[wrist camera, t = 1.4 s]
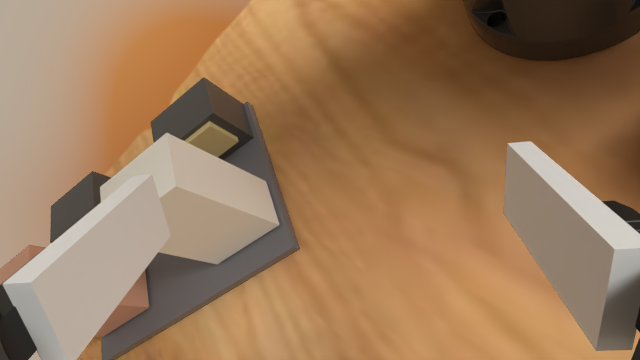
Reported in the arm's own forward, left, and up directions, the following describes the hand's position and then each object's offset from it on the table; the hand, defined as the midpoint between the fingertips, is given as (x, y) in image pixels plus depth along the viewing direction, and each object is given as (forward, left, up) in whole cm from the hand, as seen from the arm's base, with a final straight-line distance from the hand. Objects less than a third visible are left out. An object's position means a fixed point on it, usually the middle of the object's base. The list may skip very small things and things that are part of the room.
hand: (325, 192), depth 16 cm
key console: (-2, -30, -19) cm, 36 cm away
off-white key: (-3, -20, -17) cm, 27 cm away
